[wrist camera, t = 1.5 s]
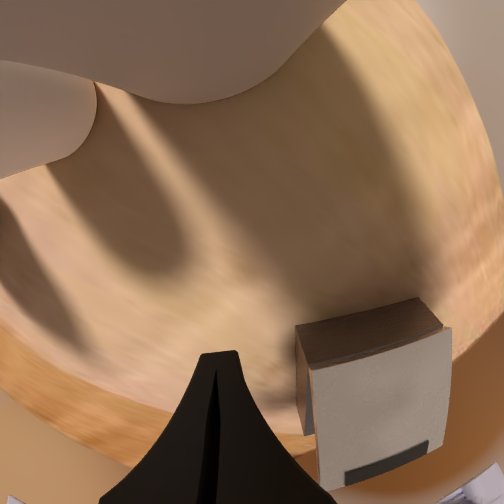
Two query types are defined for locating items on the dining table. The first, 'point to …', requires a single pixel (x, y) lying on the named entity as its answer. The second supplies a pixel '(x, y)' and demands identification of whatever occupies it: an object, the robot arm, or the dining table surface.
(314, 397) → the lid
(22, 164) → the can
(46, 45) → the cylinder vase
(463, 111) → the dining table surface
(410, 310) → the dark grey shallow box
